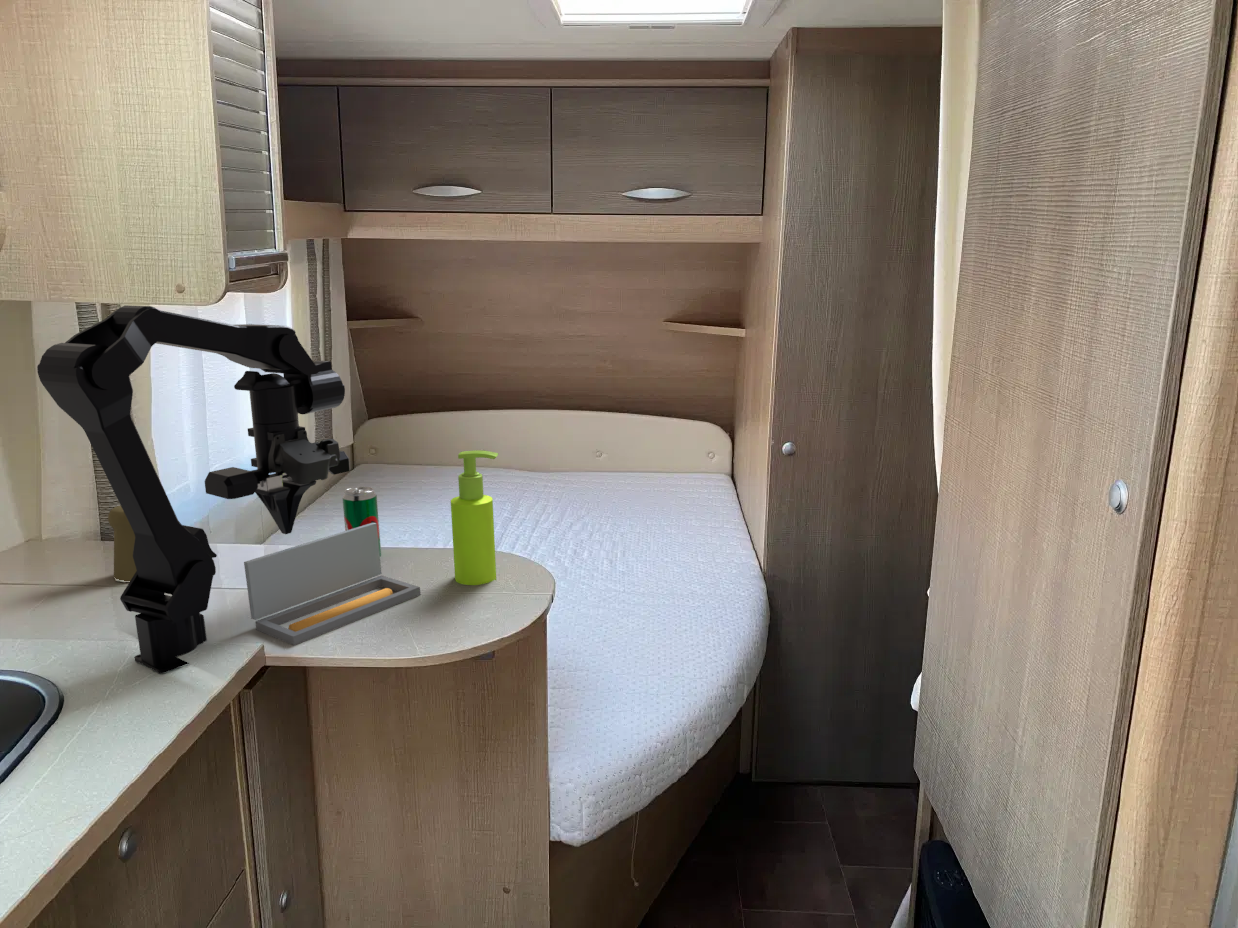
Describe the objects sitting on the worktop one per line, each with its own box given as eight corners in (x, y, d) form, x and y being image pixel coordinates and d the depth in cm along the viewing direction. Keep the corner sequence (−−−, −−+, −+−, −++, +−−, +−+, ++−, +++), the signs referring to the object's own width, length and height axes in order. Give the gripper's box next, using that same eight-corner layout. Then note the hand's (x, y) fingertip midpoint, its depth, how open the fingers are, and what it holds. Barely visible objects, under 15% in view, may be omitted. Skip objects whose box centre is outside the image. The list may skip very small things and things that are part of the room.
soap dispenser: (500, 594, 132) (493, 456, 127) (451, 594, 132) (443, 456, 127) (506, 579, 137) (500, 447, 133) (460, 579, 138) (452, 447, 133)
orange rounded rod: (296, 637, 117) (295, 625, 116) (289, 634, 118) (288, 622, 117) (395, 598, 129) (394, 587, 128) (388, 596, 130) (387, 585, 129)
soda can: (386, 559, 147) (380, 485, 144) (375, 570, 142) (369, 494, 139) (355, 558, 147) (349, 485, 144) (343, 569, 142) (336, 494, 139)
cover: (247, 562, 115) (243, 562, 116) (255, 619, 117) (251, 618, 117) (376, 523, 131) (372, 522, 131) (381, 573, 132) (378, 573, 133)
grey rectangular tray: (295, 655, 113) (293, 636, 112) (257, 639, 118) (255, 621, 117) (421, 603, 128) (419, 586, 128) (383, 591, 133) (381, 575, 133)
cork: (114, 585, 137) (103, 513, 135) (113, 573, 142) (102, 503, 140) (159, 577, 140) (150, 507, 137) (156, 566, 145) (147, 498, 143)
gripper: (246, 439, 111) (260, 563, 115) (371, 415, 126) (379, 526, 129) (196, 429, 118) (209, 547, 121) (320, 408, 132) (329, 513, 136)
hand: (286, 533), depth 127 cm, fingers closed
